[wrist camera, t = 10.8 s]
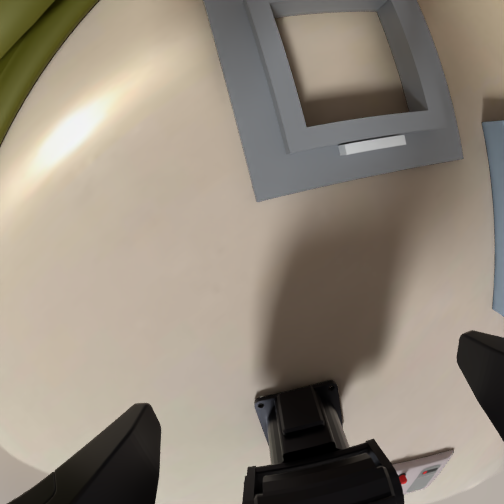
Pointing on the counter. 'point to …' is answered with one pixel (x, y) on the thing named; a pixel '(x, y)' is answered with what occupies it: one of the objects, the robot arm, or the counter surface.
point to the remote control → (421, 471)
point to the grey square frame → (338, 133)
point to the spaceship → (31, 45)
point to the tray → (497, 203)
